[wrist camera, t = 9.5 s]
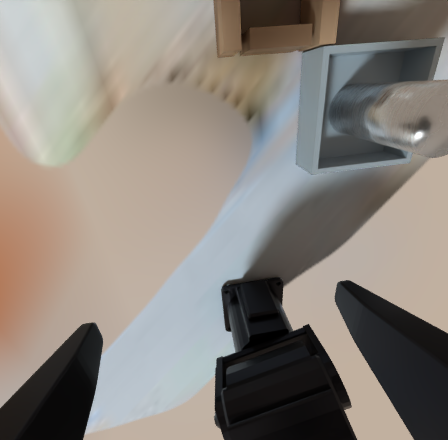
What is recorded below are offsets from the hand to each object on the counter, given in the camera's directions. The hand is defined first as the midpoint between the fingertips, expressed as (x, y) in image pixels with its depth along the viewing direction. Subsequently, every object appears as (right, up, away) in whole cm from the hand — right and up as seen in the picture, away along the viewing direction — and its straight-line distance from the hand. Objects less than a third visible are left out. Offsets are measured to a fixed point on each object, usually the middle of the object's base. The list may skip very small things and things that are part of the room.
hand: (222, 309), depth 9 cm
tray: (+10, +12, +10) cm, 18 cm away
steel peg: (+10, +12, +10) cm, 18 cm away
